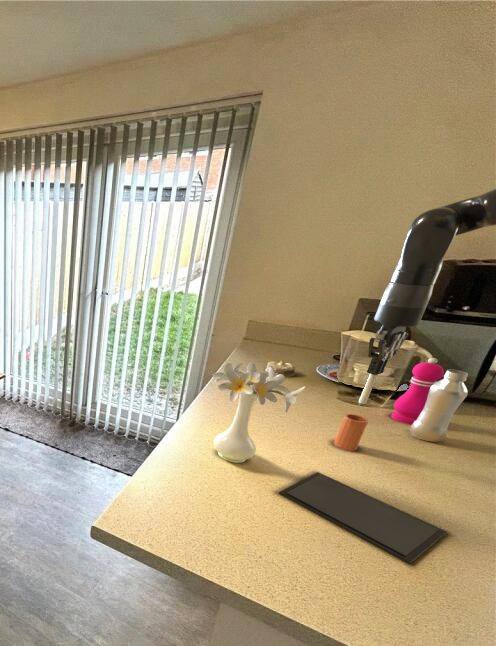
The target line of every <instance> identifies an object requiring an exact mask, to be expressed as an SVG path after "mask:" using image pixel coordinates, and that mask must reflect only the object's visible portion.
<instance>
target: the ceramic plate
mask: <svg viewBox="0 0 496 646" xmlns="http://www.w3.org/2000/svg"><path fill="white" fill-rule="evenodd" d="M339 364H340V363H329V364H327V363H326V364H321V365H319V366H317V367H316V372H317V374H319V375H320V376H321V377H324V378H326V379H328V380H330V381H334V382H336V383H339V382H338V378H337V375H338V368H339ZM407 388H408V385H407V384H403V385H401V386H400V387H399V389H398V390H397V391H396V392H403V391H408V389H407Z"/></svg>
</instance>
